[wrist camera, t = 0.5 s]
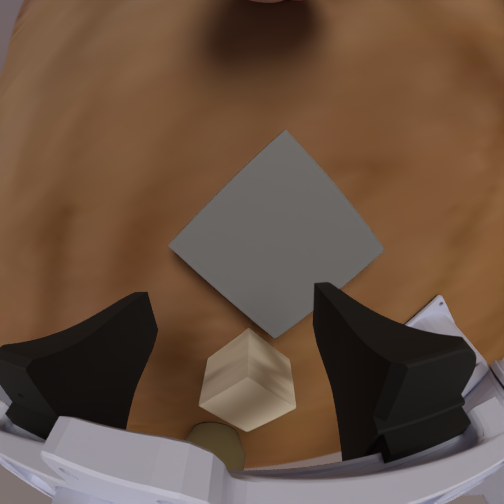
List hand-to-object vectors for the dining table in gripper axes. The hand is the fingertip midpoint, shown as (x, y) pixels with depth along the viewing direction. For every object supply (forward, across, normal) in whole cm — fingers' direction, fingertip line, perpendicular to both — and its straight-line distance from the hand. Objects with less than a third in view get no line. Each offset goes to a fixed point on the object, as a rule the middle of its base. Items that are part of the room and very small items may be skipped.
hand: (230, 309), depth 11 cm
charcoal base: (+10, -3, 0) cm, 11 cm away
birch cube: (+10, 0, +12) cm, 16 cm away
